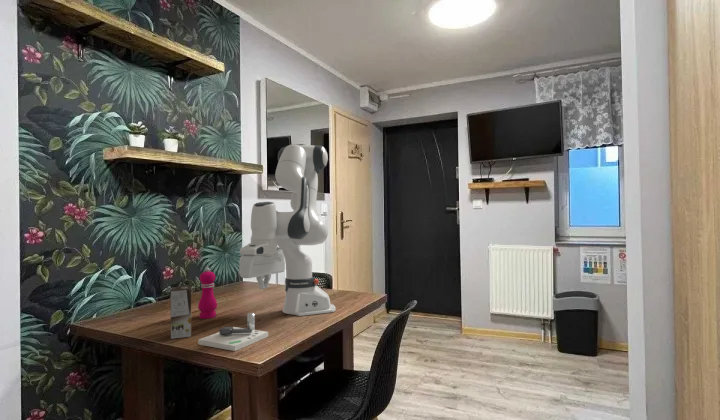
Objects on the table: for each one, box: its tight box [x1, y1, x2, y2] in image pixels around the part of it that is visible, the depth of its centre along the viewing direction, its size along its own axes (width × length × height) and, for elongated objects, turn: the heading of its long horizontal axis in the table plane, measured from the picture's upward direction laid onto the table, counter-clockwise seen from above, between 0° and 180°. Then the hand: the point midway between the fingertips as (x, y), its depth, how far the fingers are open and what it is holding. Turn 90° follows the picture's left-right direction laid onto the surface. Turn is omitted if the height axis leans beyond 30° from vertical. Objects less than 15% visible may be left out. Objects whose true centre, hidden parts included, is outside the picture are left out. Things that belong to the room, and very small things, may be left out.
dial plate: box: [197, 326, 269, 352], centre depth 126 cm, size 16×15×2 cm
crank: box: [218, 312, 256, 335], centre depth 128 cm, size 11×4×6 cm, turn 95°
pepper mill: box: [197, 267, 218, 320], centre depth 158 cm, size 7×7×20 cm
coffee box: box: [170, 285, 192, 340], centre depth 134 cm, size 9×6×16 cm
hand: (263, 288), depth 133 cm, fingers closed
